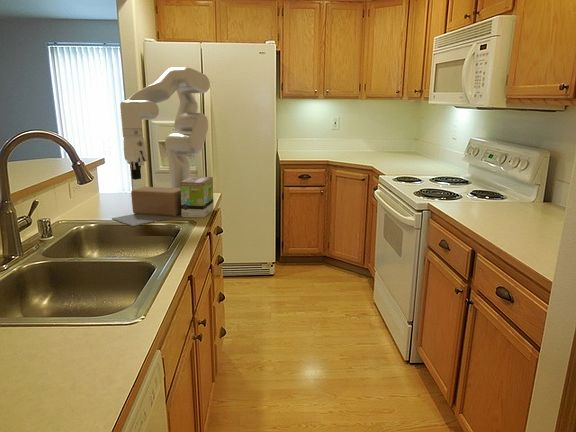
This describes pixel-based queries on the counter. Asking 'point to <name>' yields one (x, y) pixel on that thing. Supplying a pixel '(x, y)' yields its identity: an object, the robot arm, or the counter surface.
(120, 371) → the counter surface
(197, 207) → the tea box
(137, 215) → the mat
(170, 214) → the block
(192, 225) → the counter surface
